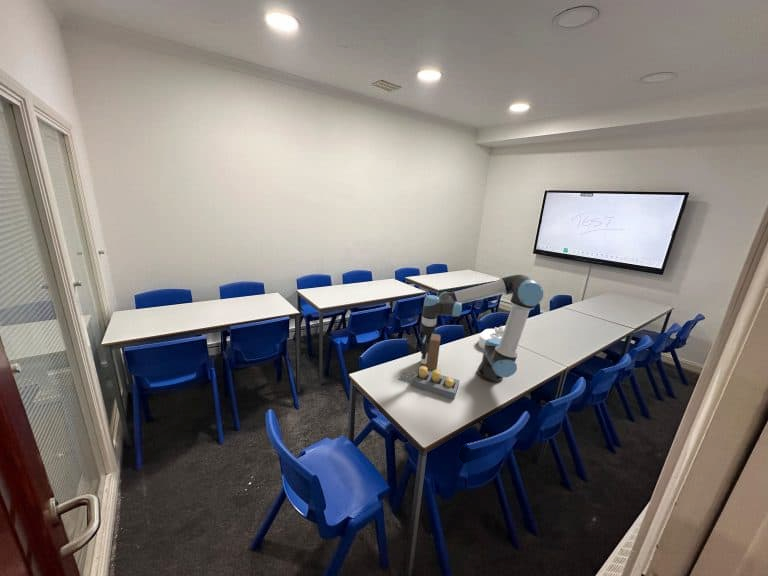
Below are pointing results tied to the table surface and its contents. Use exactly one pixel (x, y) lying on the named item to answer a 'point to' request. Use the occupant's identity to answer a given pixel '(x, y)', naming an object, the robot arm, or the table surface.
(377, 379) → the table surface
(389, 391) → the table surface
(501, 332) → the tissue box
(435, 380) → the button
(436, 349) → the wooden block
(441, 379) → the button board
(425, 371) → the button
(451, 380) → the button
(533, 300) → the robot arm
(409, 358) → the table surface
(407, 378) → the pattern tile
